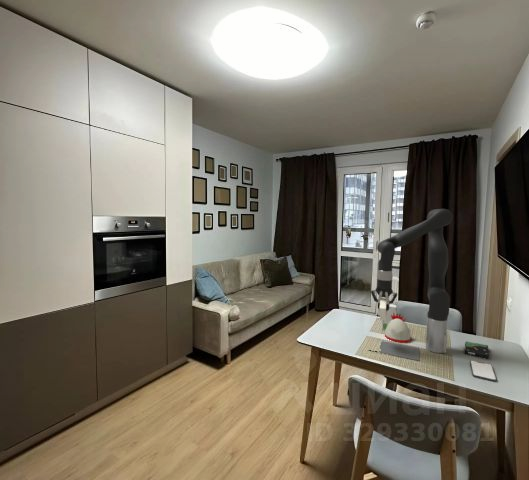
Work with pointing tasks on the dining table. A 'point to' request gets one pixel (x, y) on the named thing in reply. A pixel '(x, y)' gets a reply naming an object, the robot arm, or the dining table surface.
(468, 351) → the disk drive
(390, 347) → the mat
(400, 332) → the kitchen timer
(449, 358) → the dining table surface
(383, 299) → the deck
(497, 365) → the dining table surface
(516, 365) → the dining table surface
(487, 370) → the phone case
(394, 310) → the skincare box
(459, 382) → the dining table surface
